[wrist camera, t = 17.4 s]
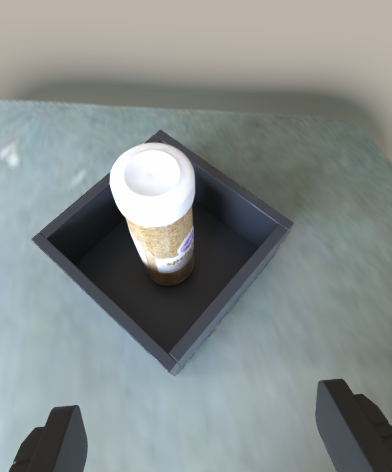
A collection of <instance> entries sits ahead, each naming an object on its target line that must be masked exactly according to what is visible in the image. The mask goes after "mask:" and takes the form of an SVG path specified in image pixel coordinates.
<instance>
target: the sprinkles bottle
mask: <svg viewBox="0 0 392 472" xmlns="http://www.w3.org/2000/svg"><path fill="white" fill-rule="evenodd" d="M110 186H111V190H112V193H113V196H114V199H115V202H116V204H117V206H118V208H119V210H120V211H121V213H122V214H123V215H124V216H125V217H126V221H127V223H128V227H129V231H130V233H131V236H132V238H133V241H134V243H135V246H136V248H137V250H138V253H139V255H140V257H141V260H142V262H143V263H144V267H145V271H146V273H147V274H148V276H149V277H150V278H151V279H152V280H153V281H155V282H156V283H158V284H160V285H167V286H169V285H176V284H178V283H181V282H182V281H184V280H185V279H186V278H187V277H188V276H189V275H190V274H191V272H192V271H193V268H194V261H195V260H194V254H193V250H194V228H193V217H192V203H193V200H194V195H195V175H194V169H193V166H192V164H191V162H190V160H189V159H188V158H187V156H186V155H185V154H184V153H183V152H181V151H180V150H178V149H177V148H175V147H173V146H171V145H168V144H163V143H145V144H140V145H137V146H135V147H133V148H131V149H129V150H127V151H126V152H124V153H123V154H122V155H121V156H120V157H119V158H118V159H117V161H116V162H115V164H114V166H113V168H112V170H111V174H110Z"/></svg>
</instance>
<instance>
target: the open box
mask: <svg viewBox="0 0 392 472" xmlns="http://www.w3.org/2000/svg"><path fill="white" fill-rule="evenodd" d="M145 143H163V144H168V145H171V146H173V147H175V148H177V149H178V150H180V151H181V152H183V153H184V154H185V155H186V156H187V158H188V159H189V160H190V162H191V164H192V166H193V169H194V175H195V195H194V200H193V203H192V217H193V228H194V250H193V254H194V260H195V261H194V268H193V271H192V272H191V274H190V275H189V276H188V277H187V278H186V279H185V280H184V281H182V282H181V283H178V284H176V285H169V286H167V285H160V284H158V283H156V282H155V281H153V280H152V279H151V278H150V277H149V276H148V274H147V273H146V271H145V267H144V263H143V262H142V260H141V257H140V255H139V253H138V250H137V248H136V246H135V243H134V241H133V238H132V236H131V233H130V231H129V227H128V223H127V221H126V217H125V216H124V215H123V214H122V213H121V211H120V210H119V208H118V206H117V204H116V202H115V199H114V196H113V193H112V190H111V186H110V174H111V172H110V173H109V174H107V175H106V176H105V177H104V178H103V179H101V180H100V181H99V182H98V183H97V184H96V185H94V186H93V187H92V188H91V189H90V190H89V191H87V192H86V193H85V194H84V195H83V196H81V197H80V198H79V199H78V200H77V201H76V202H74V203H73V204H72V205H71V206H70V207H68V208H67V209H66V210H65V211H64V212H63V213H61V214H60V215H59V216H58V217H57V218H56V219H54V220H53V221H52V222H51V223H50V224H48V225H47V226H46V227H45V228H44V229H43V230H41V231H40V233H38V234H37V235H36V236H34V237H33V238H32V239H31V240H32V241H33V242H34V243H35V244H36V245H37V246H38V247H39V248H40V249H41V250H42V251H43V252H44V253H45V254H46V255H47V256H48V257H49V258H50V259H51V260H52V261H53V262H55V263H56V264H57V265H58V266H59V267H60V268H61V269H62V270H63V271H64V272H65V273H66V274H67V275H68V276H69V277H70V278H71V279H72V280H73V281H74V282H75V283H76V284H77V285H78V286H79V287H80V288H81V289H82V290H84V291H85V292H86V293H87V294H88V295H89V296H90V297H91V298H92V299H93V300H94V301H95V302H96V303H97V304H98V305H99V306H100V307H101V308H102V309H103V310H104V311H105V312H106V313H107V314H108V315H109V316H110V317H112V318H113V319H114V320H115V321H116V322H117V323H118V324H119V325H120V326H121V327H122V328H123V329H124V330H125V331H126V332H127V333H128V334H129V335H130V336H131V337H132V338H133V339H134V340H135V341H136V342H137V343H138V344H140V345H141V346H142V347H143V348H144V349H145V350H146V351H147V352H148V353H149V354H150V355H151V356H152V357H153V358H154V359H155V360H156V361H157V362H158V363H159V364H160V365H161V366H162V367H163V368H164V369H165V370H166V371H168V372H169V373H170V374H172V375H174V376H176V375H177V373H178V372H179V371H180V370H181V368H182V367H183V366H184V365H185V364H186V362H187V361H188V360H189V359H190V358H191V356H192V355H193V354H194V353H195V351H196V350H197V349H198V348H199V347H200V345H201V344H202V343H203V342H204V341H205V339H206V338H207V337H208V336H209V334H210V333H211V332H212V331H213V330H214V328H215V327H216V326H217V325H218V324H219V322H220V321H221V320H222V319H223V317H224V316H225V315H226V314H227V313H228V311H229V310H230V309H231V308H232V307H233V305H234V304H235V303H236V302H237V300H238V299H239V298H240V297H241V296H242V294H243V293H244V292H245V291H246V290H247V288H248V287H249V286H250V285H251V283H252V282H253V281H254V280H255V279H256V277H257V276H258V275H259V274H260V273H261V271H262V270H263V269H264V268H265V266H266V265H267V264H268V263H269V262H270V260H271V259H272V258H273V257H274V255H275V254H276V252H277V250H278V248H279V247H280V245H281V243H282V242H283V240H284V238H285V237H286V235H287V233H288V232H289V230H290V228H291V227H292V225H293V222H291V221H290V220H289V219H287V218H286V217H284V216H283V215H281V214H280V213H279V212H277V211H276V210H274V209H273V208H271V207H270V206H269V205H267V204H266V203H264V202H263V201H261V200H260V199H259V198H257V197H256V196H254V195H253V194H251V193H250V192H249V191H247V190H246V189H244V188H243V187H242V186H240V185H239V184H237V183H236V182H234V181H233V180H232V179H230V178H229V177H227V176H226V175H224V174H223V173H222V172H220V171H219V170H217V169H216V168H214V167H213V166H212V165H210V164H209V163H207V162H206V161H204V160H203V159H202V158H200V157H199V156H197V155H196V154H194V153H193V152H192V151H190V150H189V149H187V148H186V147H185V146H183V145H182V144H180V143H179V142H177V141H176V140H175V139H173V138H172V137H170V136H169V135H167V134H166V133H165V132H163V131H162V130H159V131H158V132H157V133H156V134H155V135H153V136H152V137H151V138H150V139H149V140H147V141H146V142H145ZM145 143H144V144H145Z"/></svg>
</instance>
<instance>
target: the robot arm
mask: <svg viewBox="0 0 392 472" xmlns="http://www.w3.org/2000/svg"><path fill="white" fill-rule="evenodd" d="M315 415H316V423H317V427H318V431H319V433H320V436H321V438H322V440H323V442H324V445H325V447H326V449H327V451H328V453H329V456H330V458H331V460H332V462H333V464H334V466H335V469H336V471H337V472H392V426H391V425H389V423H388V420H387V419H386V418H385V416H384V415H383V413H382V412H381V410H380V409H379V408H378V406H377V405H375V404H374V403H373V402H372V401H370V400H369V399H368V398H367V397H366V396H364V395H363V394H356V395H354V394H353V393H352V391H351V389H350V388H349V386H348V385H347V383H346V382H345V381H344V380H343V379H331V380H322V381H319V382H318V388H317V401H316V414H315ZM87 447H88V444H87V436H86V432H85V428H84V424H83V420H82V416H81V412H80V408H79V406H78V405H74V406H64V407H55V408H53V409H52V410H51V412H50V415H49V417H48V420H47V422H46V425H45V427H37V428H35V429H34V430H33V431H32V432H31V433H30V434H29V436H28V437H27V438H26V439H25V440H24V441H23V443H22V444H21V446H20V448H19V450H18V453H17V455H16V457H15V459H14V461H13V462H14V463H13V465H12V466H11V468H10V470H9V472H83V470H84V466H85V462H86V457H87Z"/></svg>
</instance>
